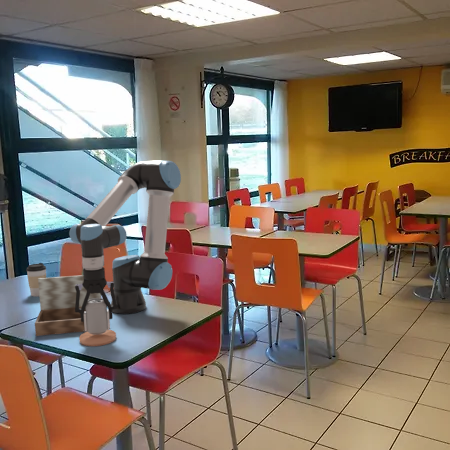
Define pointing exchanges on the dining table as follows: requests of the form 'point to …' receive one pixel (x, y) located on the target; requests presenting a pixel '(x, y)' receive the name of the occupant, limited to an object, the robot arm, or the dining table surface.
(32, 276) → the coffee cup
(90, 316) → the can
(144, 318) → the dining table surface
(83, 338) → the brown wooden disc
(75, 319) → the hinged wooden box
